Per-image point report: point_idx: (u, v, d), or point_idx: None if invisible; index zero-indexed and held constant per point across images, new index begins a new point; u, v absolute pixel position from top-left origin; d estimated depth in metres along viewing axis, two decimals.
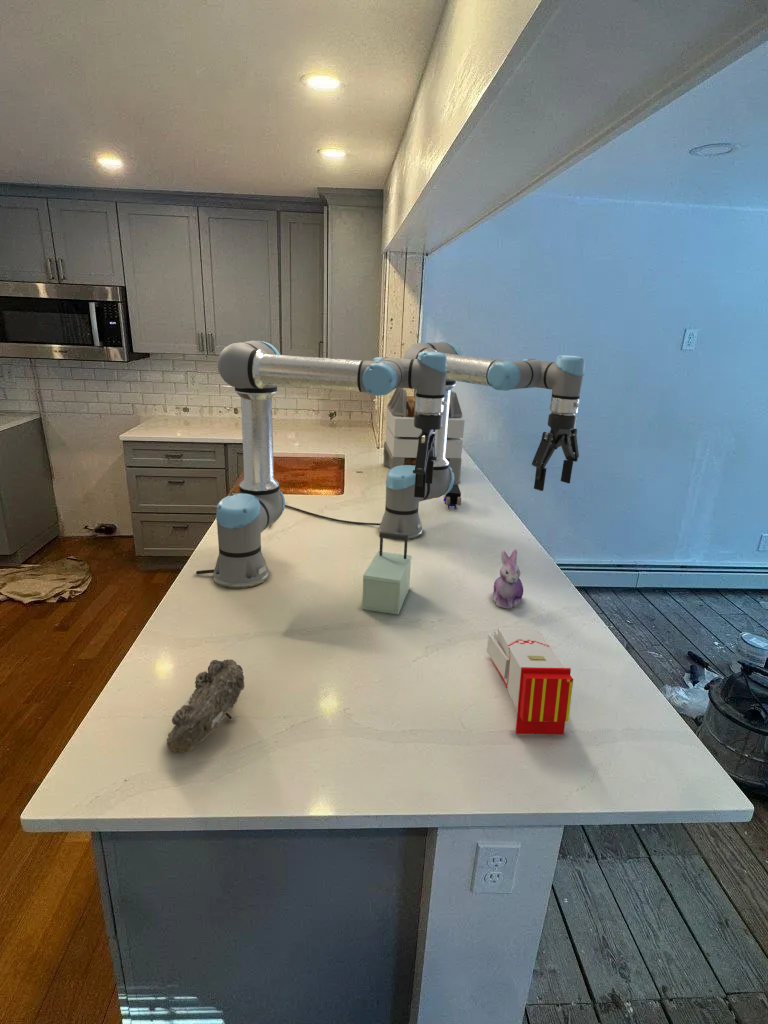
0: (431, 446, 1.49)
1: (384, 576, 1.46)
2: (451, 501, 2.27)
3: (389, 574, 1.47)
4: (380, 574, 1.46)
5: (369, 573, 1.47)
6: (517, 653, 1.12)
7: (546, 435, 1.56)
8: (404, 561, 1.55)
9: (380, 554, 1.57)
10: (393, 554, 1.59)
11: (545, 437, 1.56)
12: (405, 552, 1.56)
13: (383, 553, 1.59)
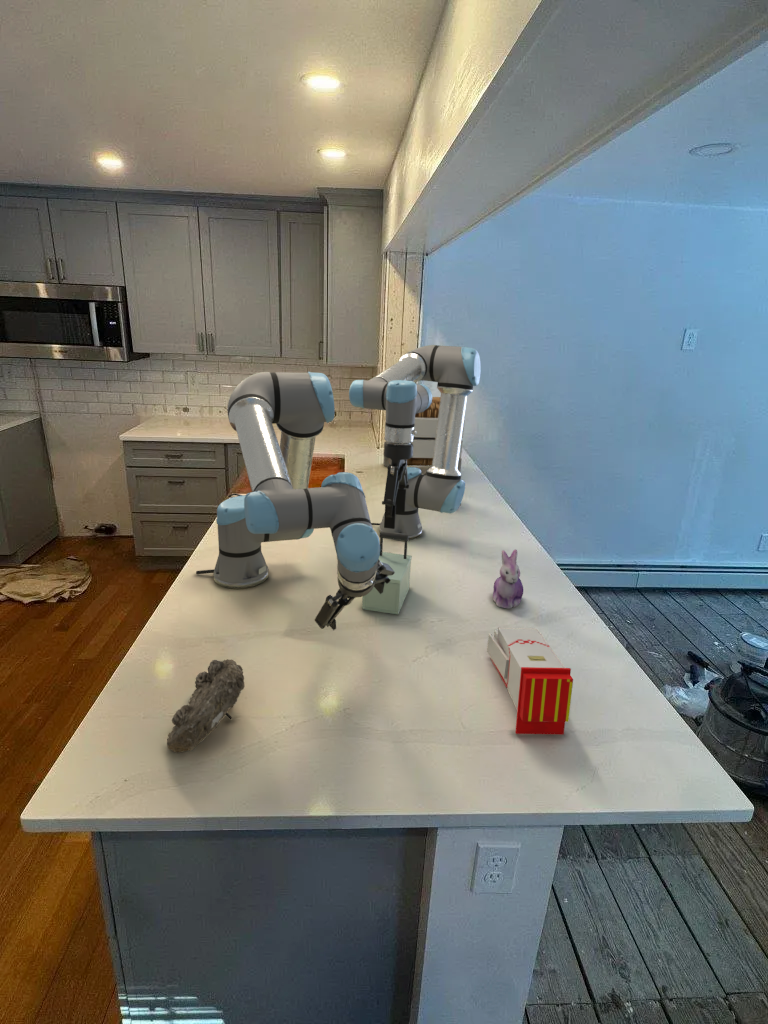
0: (350, 601, 1.16)
1: None
2: None
3: None
4: None
5: None
6: (517, 653, 1.12)
7: (392, 469, 1.42)
8: (404, 561, 1.55)
9: (380, 554, 1.57)
10: (393, 554, 1.59)
11: (391, 472, 1.42)
12: (405, 552, 1.56)
13: (383, 553, 1.59)
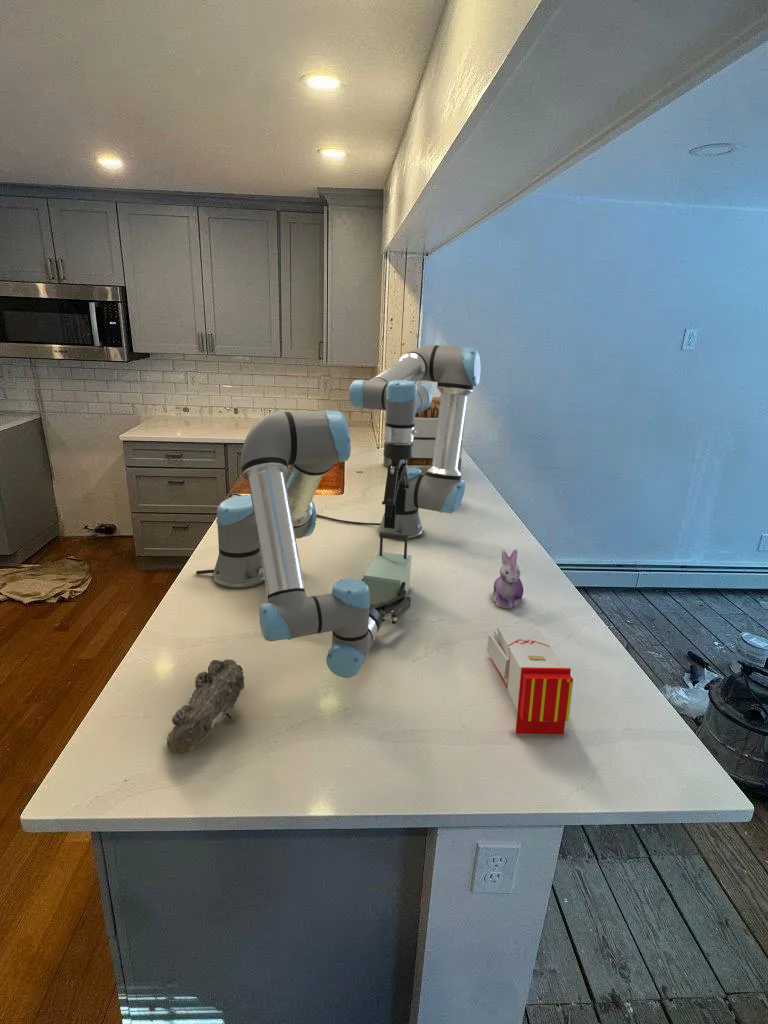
0: None
1: (384, 576, 1.46)
2: None
3: (389, 574, 1.47)
4: (380, 574, 1.46)
5: (369, 573, 1.47)
6: (517, 653, 1.12)
7: (392, 469, 1.42)
8: (404, 561, 1.55)
9: (380, 554, 1.57)
10: (393, 554, 1.59)
11: (391, 472, 1.42)
12: (405, 552, 1.56)
13: (383, 553, 1.59)
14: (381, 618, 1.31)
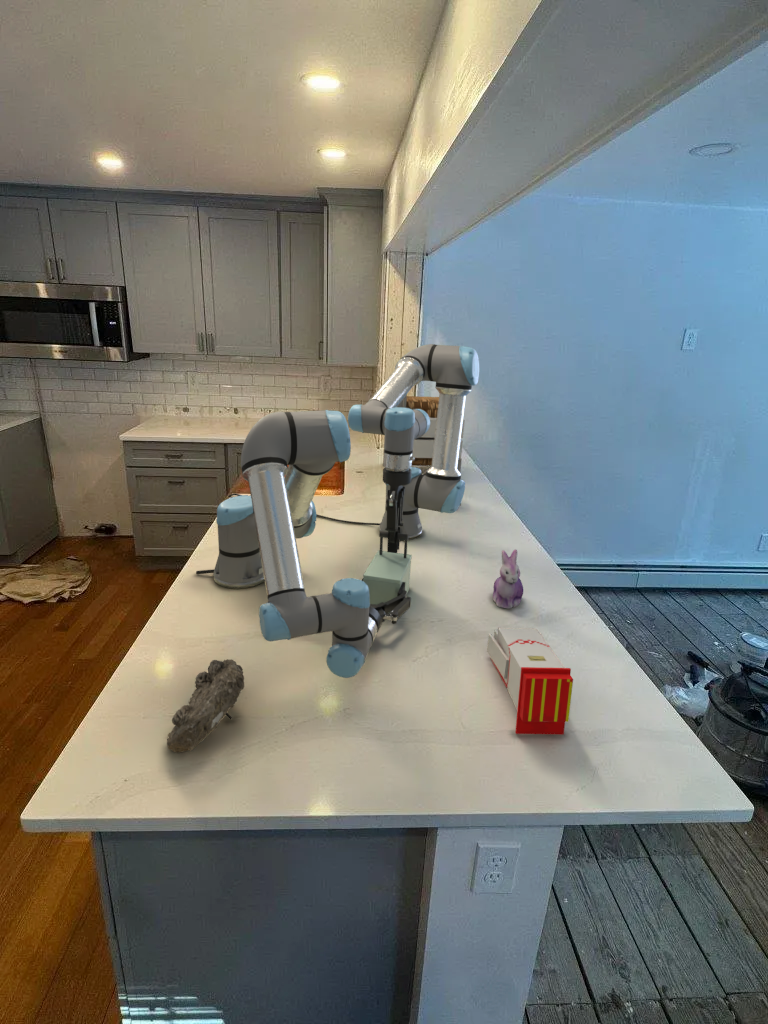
0: None
1: (384, 576, 1.45)
2: None
3: (389, 574, 1.47)
4: (380, 574, 1.46)
5: (369, 573, 1.47)
6: (517, 653, 1.12)
7: (391, 503, 1.45)
8: (404, 560, 1.55)
9: (380, 553, 1.57)
10: (393, 553, 1.59)
11: (390, 505, 1.46)
12: (405, 551, 1.55)
13: (383, 552, 1.59)
14: (381, 618, 1.31)
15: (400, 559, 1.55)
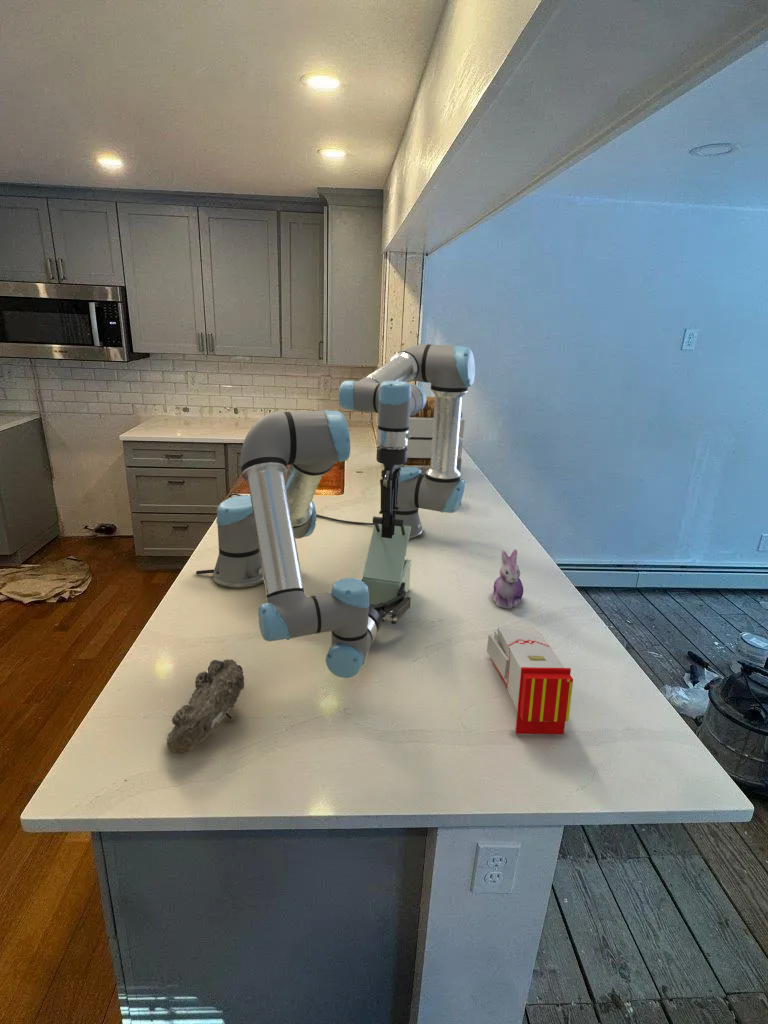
0: None
1: (383, 576, 1.44)
2: None
3: (388, 571, 1.45)
4: (379, 573, 1.45)
5: (368, 572, 1.45)
6: (517, 653, 1.12)
7: (385, 483, 1.35)
8: (403, 540, 1.49)
9: (377, 531, 1.50)
10: None
11: (385, 485, 1.36)
12: (403, 531, 1.48)
13: (380, 527, 1.51)
14: (381, 618, 1.31)
15: (398, 538, 1.49)
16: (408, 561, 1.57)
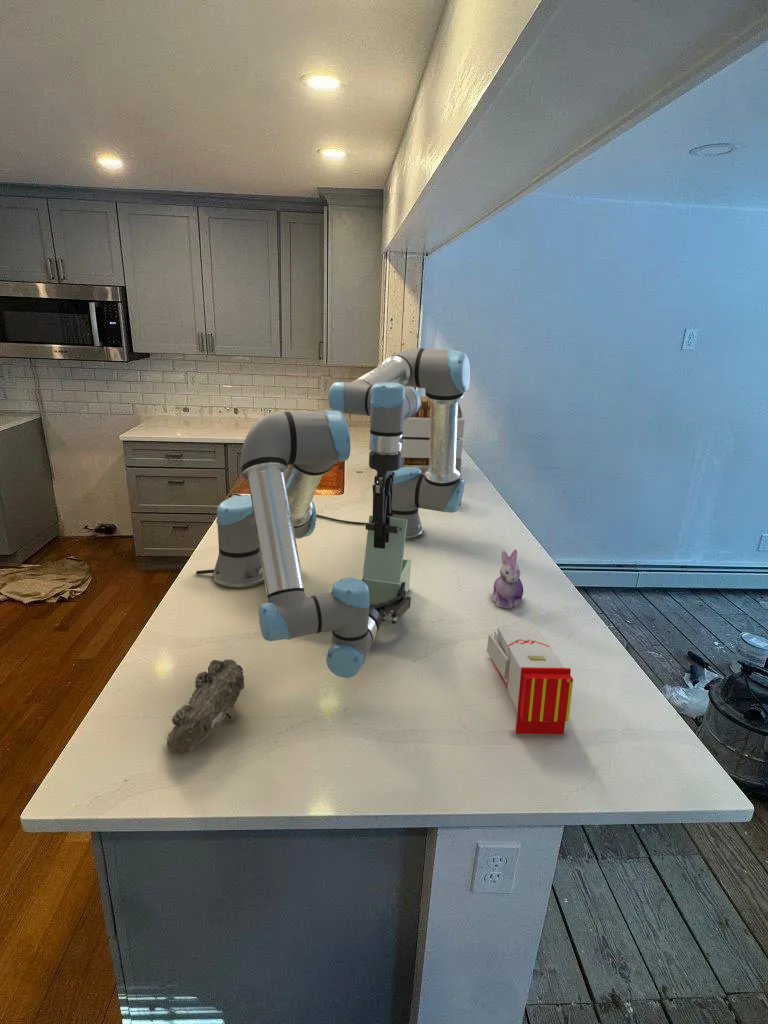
0: None
1: (383, 577, 1.44)
2: None
3: (387, 571, 1.44)
4: (378, 573, 1.44)
5: (367, 573, 1.45)
6: (517, 653, 1.12)
7: (378, 490, 1.28)
8: (400, 537, 1.43)
9: None
10: None
11: (377, 492, 1.28)
12: None
13: None
14: (381, 618, 1.31)
15: (395, 534, 1.43)
16: (408, 561, 1.57)
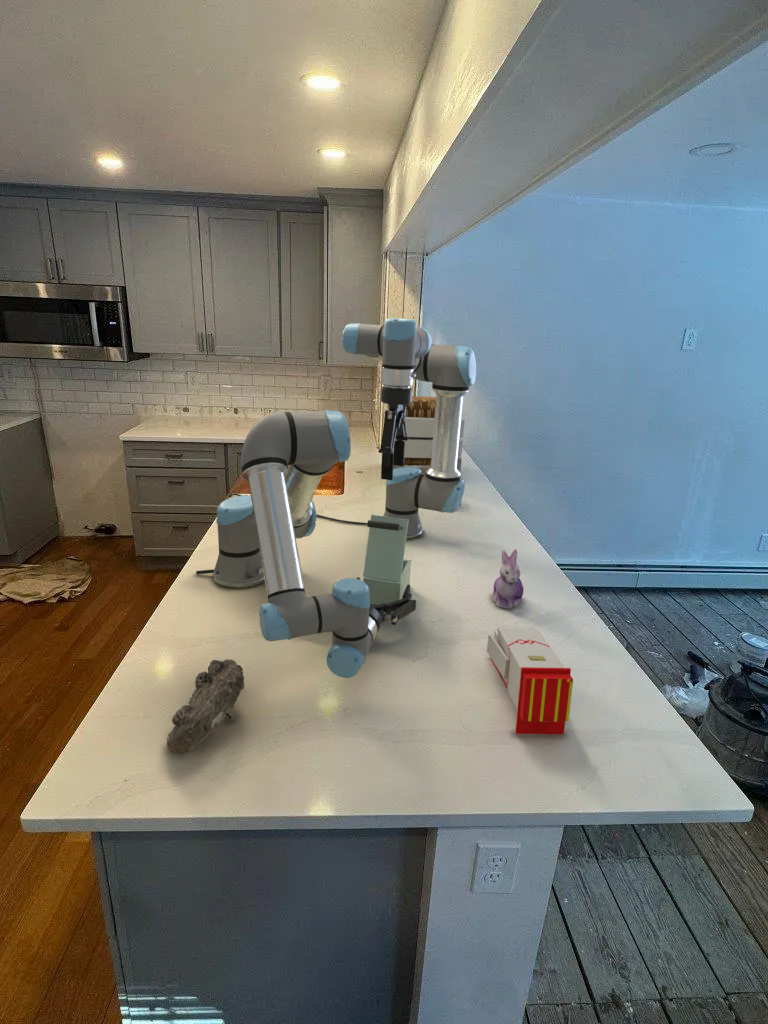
0: None
1: (383, 576, 1.45)
2: None
3: (388, 570, 1.44)
4: (379, 572, 1.45)
5: (368, 572, 1.45)
6: (517, 653, 1.12)
7: (390, 414, 1.31)
8: (401, 536, 1.44)
9: None
10: (388, 520, 1.45)
11: (389, 416, 1.31)
12: (400, 529, 1.43)
13: (377, 520, 1.46)
14: (381, 618, 1.31)
15: (396, 533, 1.45)
16: (408, 561, 1.57)
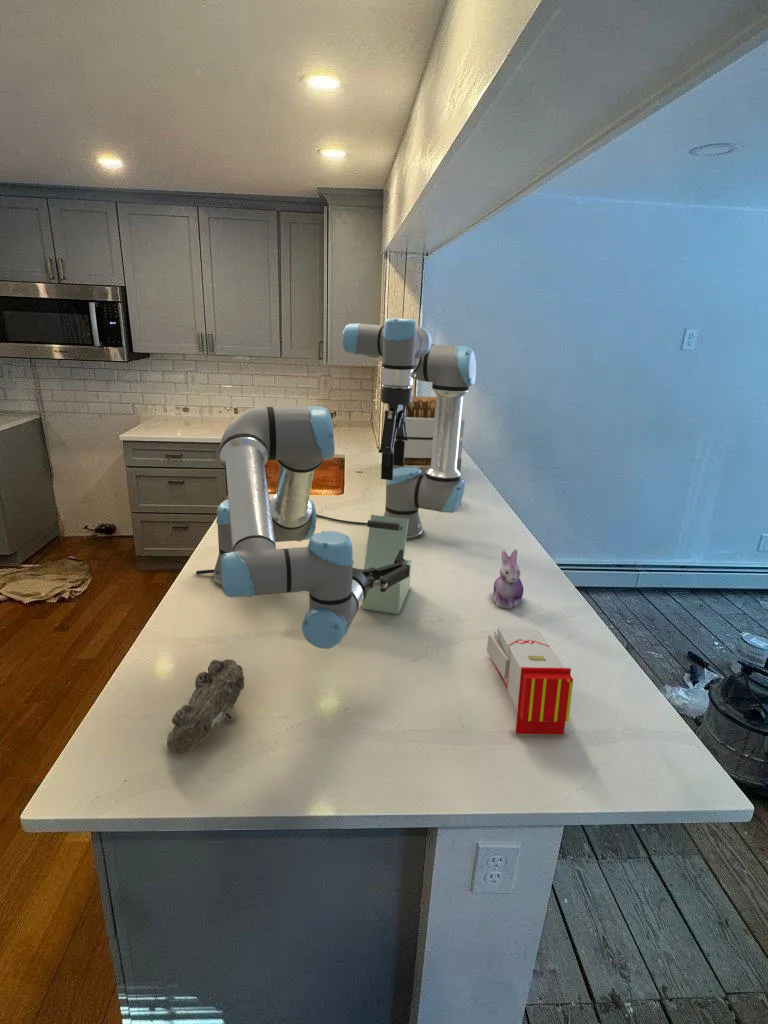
0: None
1: None
2: None
3: None
4: None
5: None
6: (517, 653, 1.12)
7: (390, 414, 1.31)
8: (401, 536, 1.45)
9: None
10: (388, 520, 1.45)
11: (389, 416, 1.31)
12: (400, 529, 1.43)
13: (377, 520, 1.46)
14: (369, 583, 1.13)
15: (396, 533, 1.45)
16: (408, 561, 1.57)
